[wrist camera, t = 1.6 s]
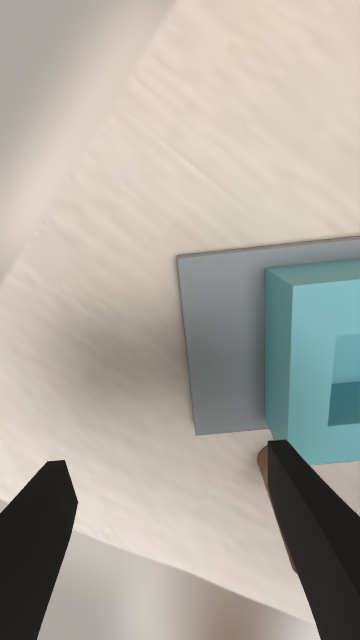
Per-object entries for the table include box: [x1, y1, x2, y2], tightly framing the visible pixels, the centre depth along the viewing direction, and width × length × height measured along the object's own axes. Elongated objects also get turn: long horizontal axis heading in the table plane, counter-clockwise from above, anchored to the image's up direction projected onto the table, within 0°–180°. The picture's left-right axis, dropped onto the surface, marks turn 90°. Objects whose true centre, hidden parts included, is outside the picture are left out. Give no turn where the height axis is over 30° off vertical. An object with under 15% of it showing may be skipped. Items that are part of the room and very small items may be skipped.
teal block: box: [265, 258, 360, 465], centre depth 16 cm, size 10×9×4 cm
